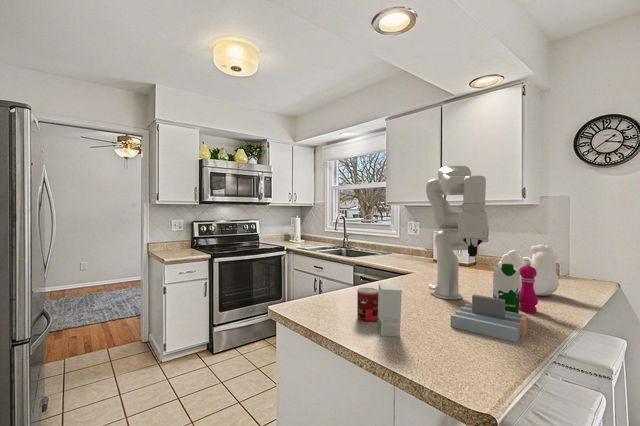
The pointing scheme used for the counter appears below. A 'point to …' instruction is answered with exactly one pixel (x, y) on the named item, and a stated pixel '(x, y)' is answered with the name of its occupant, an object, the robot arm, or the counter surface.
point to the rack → (491, 324)
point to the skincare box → (389, 309)
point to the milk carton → (507, 286)
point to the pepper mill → (528, 289)
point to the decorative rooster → (537, 267)
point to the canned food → (367, 304)
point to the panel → (488, 306)
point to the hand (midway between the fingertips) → (472, 256)
